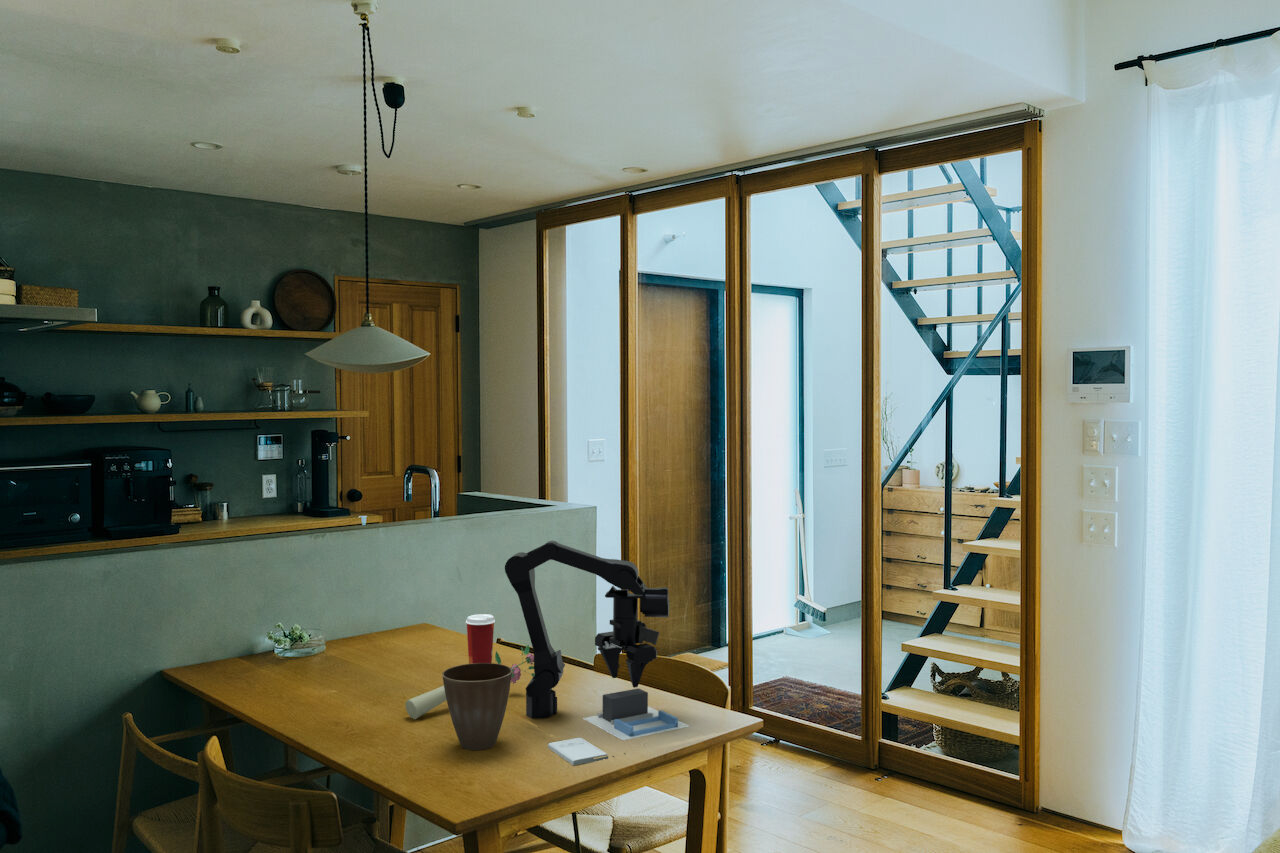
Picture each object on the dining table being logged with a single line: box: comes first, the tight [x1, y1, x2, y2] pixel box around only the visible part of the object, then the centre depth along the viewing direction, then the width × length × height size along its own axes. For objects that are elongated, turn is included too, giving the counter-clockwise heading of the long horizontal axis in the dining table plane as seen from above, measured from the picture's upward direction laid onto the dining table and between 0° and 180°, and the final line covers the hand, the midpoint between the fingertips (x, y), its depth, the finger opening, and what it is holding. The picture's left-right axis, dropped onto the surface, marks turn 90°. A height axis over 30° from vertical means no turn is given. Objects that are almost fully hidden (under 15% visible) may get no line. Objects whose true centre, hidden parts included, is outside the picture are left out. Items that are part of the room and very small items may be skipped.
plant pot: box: [442, 662, 512, 751], centre depth 213 cm, size 15×15×16 cm
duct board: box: [582, 706, 690, 741], centre depth 226 cm, size 18×18×3 cm
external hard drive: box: [547, 737, 609, 766], centre depth 208 cm, size 2×8×12 cm
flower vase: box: [404, 644, 535, 720], centre depth 242 cm, size 12×12×35 cm
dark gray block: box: [602, 687, 649, 722], centre depth 230 cm, size 10×4×6 cm, turn 123°
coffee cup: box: [465, 613, 496, 664], centre depth 274 cm, size 8×8×15 cm
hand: (624, 682), depth 230 cm, fingers open, 9 cm apart
